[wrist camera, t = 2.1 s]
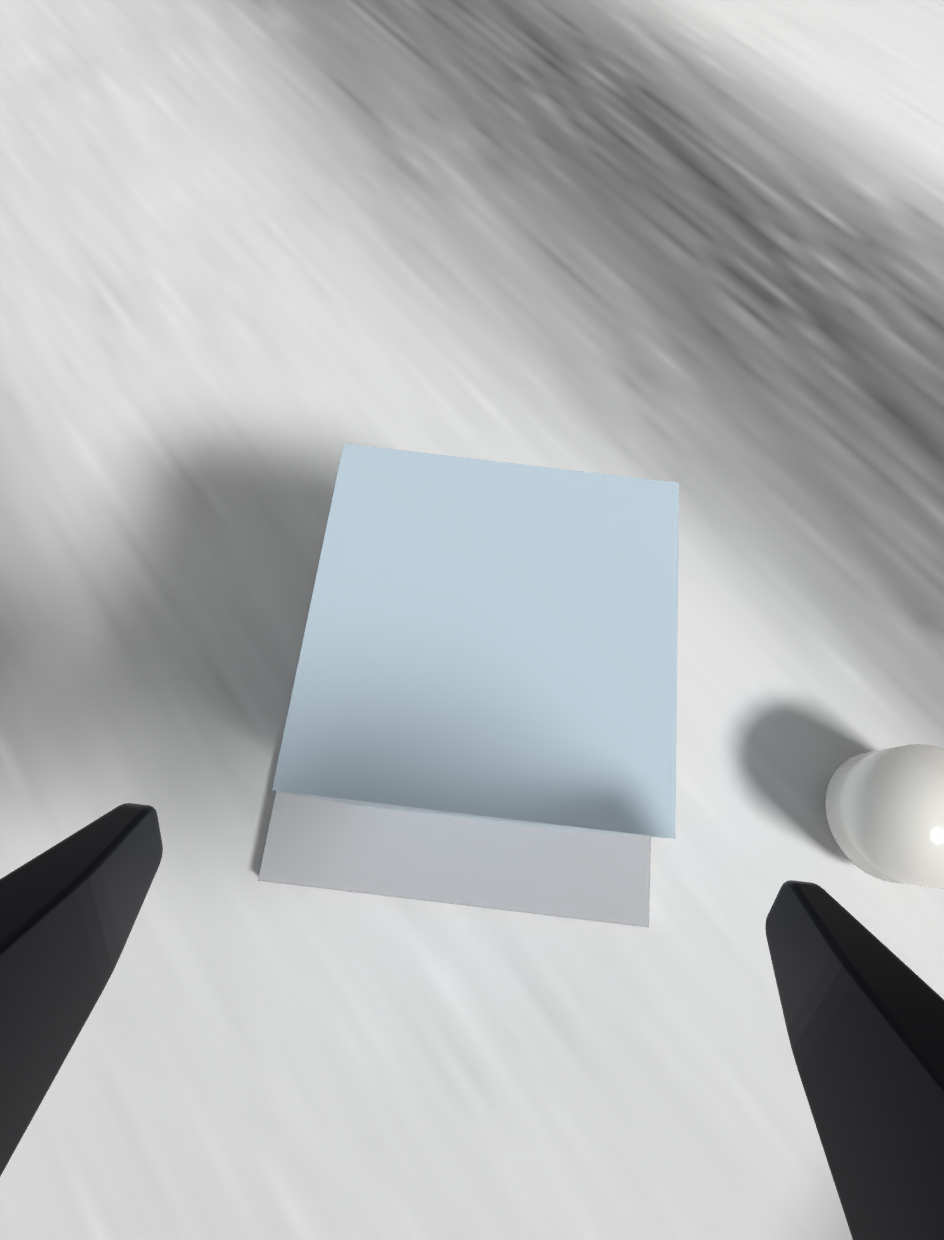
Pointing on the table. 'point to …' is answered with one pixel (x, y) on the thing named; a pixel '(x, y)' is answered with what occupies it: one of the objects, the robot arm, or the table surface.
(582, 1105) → the table surface
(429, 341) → the table surface
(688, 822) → the table surface
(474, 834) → the mat
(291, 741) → the light blue block
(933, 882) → the white domed knob
